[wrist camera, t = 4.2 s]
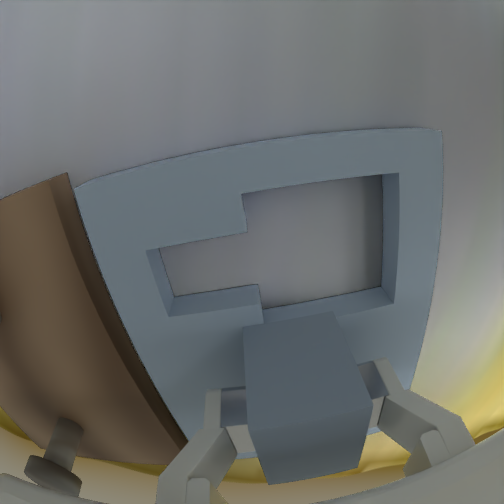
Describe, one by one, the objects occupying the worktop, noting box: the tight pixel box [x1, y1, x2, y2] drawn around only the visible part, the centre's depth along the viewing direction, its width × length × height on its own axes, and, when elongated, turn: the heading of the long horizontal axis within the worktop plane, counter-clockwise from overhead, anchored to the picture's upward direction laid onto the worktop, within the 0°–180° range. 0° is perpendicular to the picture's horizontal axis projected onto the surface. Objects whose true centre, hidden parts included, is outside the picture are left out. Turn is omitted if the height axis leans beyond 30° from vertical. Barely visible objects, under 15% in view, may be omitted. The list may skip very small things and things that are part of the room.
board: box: [0, 173, 188, 497], centre depth 10 cm, size 12×16×5 cm
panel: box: [74, 128, 443, 485], centre depth 9 cm, size 11×15×5 cm
